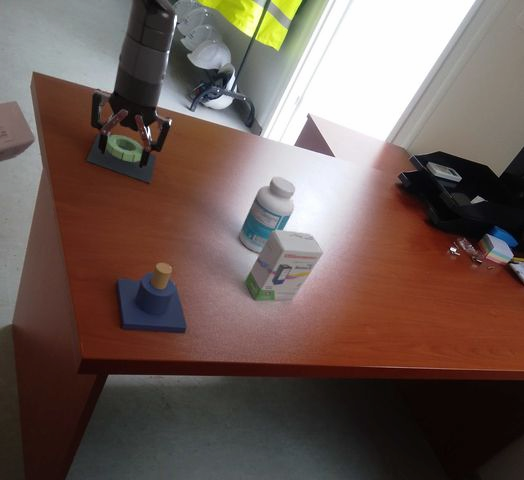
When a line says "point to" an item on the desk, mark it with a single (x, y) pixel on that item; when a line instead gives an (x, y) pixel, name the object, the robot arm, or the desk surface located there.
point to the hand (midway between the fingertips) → (122, 158)
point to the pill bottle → (268, 213)
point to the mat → (121, 163)
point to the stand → (151, 302)
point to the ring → (121, 153)
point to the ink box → (283, 265)
